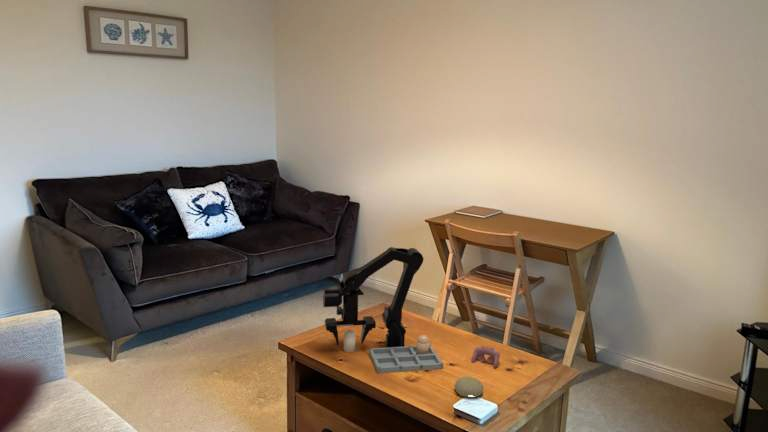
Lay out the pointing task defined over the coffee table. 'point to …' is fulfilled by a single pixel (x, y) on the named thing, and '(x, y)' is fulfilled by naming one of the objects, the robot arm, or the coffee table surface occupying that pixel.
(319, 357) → the coffee table surface
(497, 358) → the video game controller
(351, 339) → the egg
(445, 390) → the coffee table surface
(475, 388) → the sea urchin shell
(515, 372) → the coffee table surface
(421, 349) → the beige rounded cylinder
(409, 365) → the grey compartment tray
